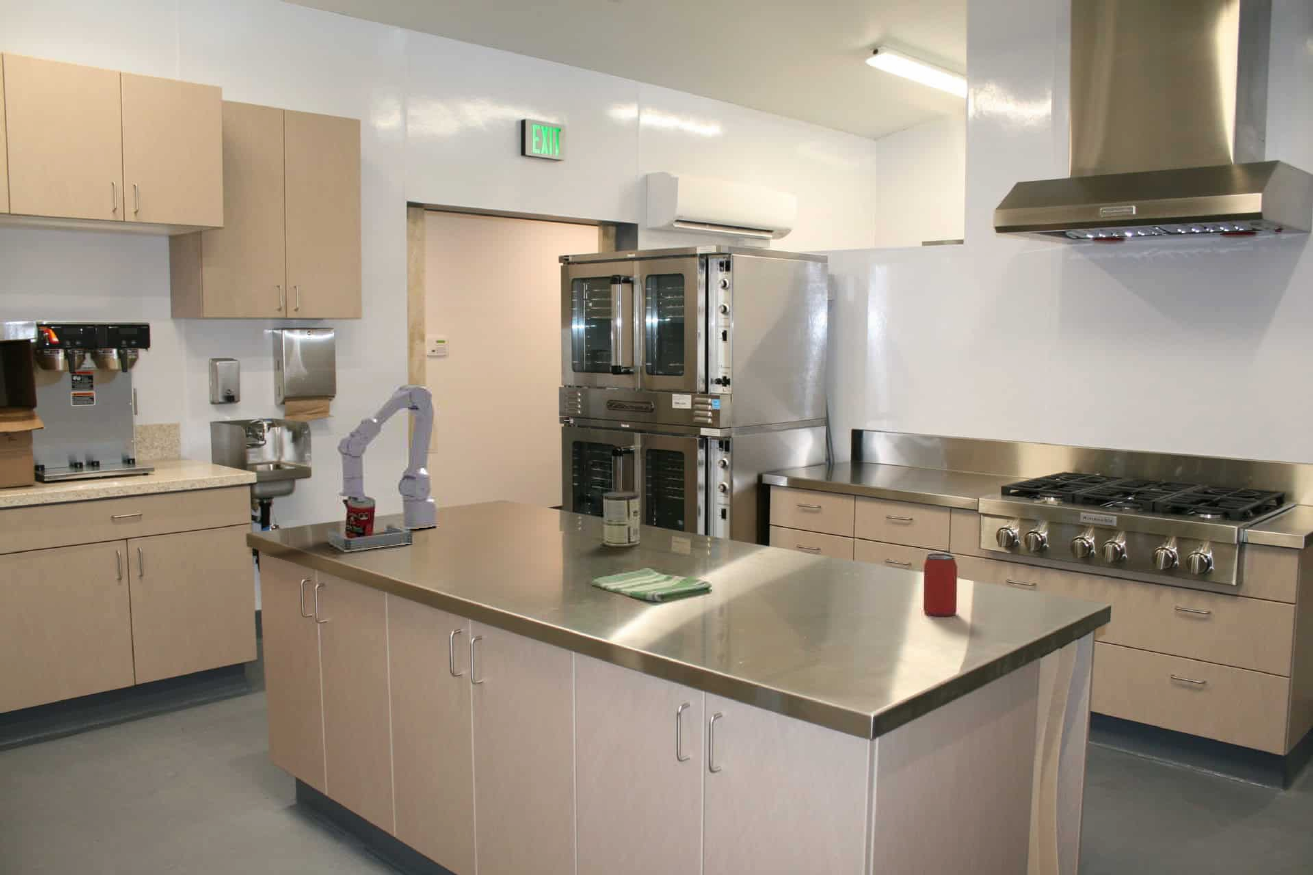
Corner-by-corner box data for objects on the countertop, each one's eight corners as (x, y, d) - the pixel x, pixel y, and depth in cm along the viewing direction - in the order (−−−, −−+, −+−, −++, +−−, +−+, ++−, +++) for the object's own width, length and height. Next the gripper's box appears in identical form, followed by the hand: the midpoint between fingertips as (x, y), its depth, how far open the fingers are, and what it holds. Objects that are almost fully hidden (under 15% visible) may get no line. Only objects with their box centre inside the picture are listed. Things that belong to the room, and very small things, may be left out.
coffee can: (606, 539, 292) (605, 490, 290) (641, 539, 291) (641, 490, 289) (600, 546, 281) (600, 496, 280) (637, 546, 280) (637, 496, 279)
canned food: (339, 536, 293) (342, 501, 290) (355, 527, 300) (358, 493, 297) (361, 543, 291) (364, 508, 288) (377, 534, 298) (381, 500, 295)
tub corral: (392, 535, 300) (391, 523, 300) (412, 544, 287) (412, 532, 287) (327, 543, 290) (327, 531, 289) (345, 552, 276) (345, 540, 276)
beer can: (931, 607, 213) (932, 551, 212) (961, 612, 209) (962, 555, 208) (917, 614, 208) (918, 556, 207) (948, 619, 204) (949, 560, 202)
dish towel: (649, 575, 247) (649, 564, 247) (714, 592, 229) (714, 581, 229) (590, 587, 236) (590, 575, 236) (654, 606, 218) (654, 594, 218)
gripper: (332, 475, 301) (333, 520, 302) (347, 481, 289) (349, 527, 290) (355, 474, 305) (357, 518, 306) (371, 479, 293) (373, 525, 294)
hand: (354, 522), depth 298 cm, fingers closed
